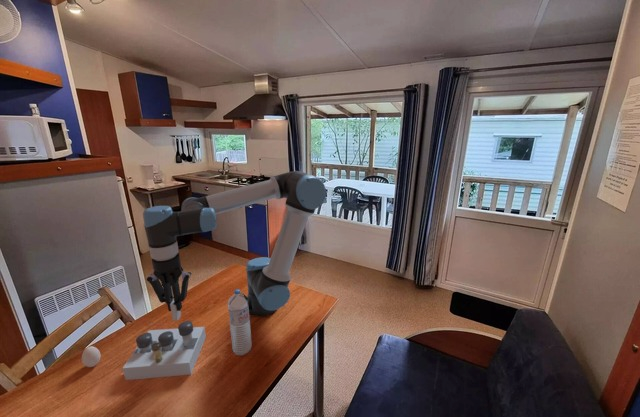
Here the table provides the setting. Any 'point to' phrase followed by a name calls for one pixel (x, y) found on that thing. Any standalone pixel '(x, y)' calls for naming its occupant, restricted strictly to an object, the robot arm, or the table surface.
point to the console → (166, 357)
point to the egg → (90, 356)
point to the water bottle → (239, 323)
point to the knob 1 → (144, 342)
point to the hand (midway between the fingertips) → (177, 317)
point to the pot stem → (157, 352)
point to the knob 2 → (186, 332)
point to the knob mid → (166, 340)
